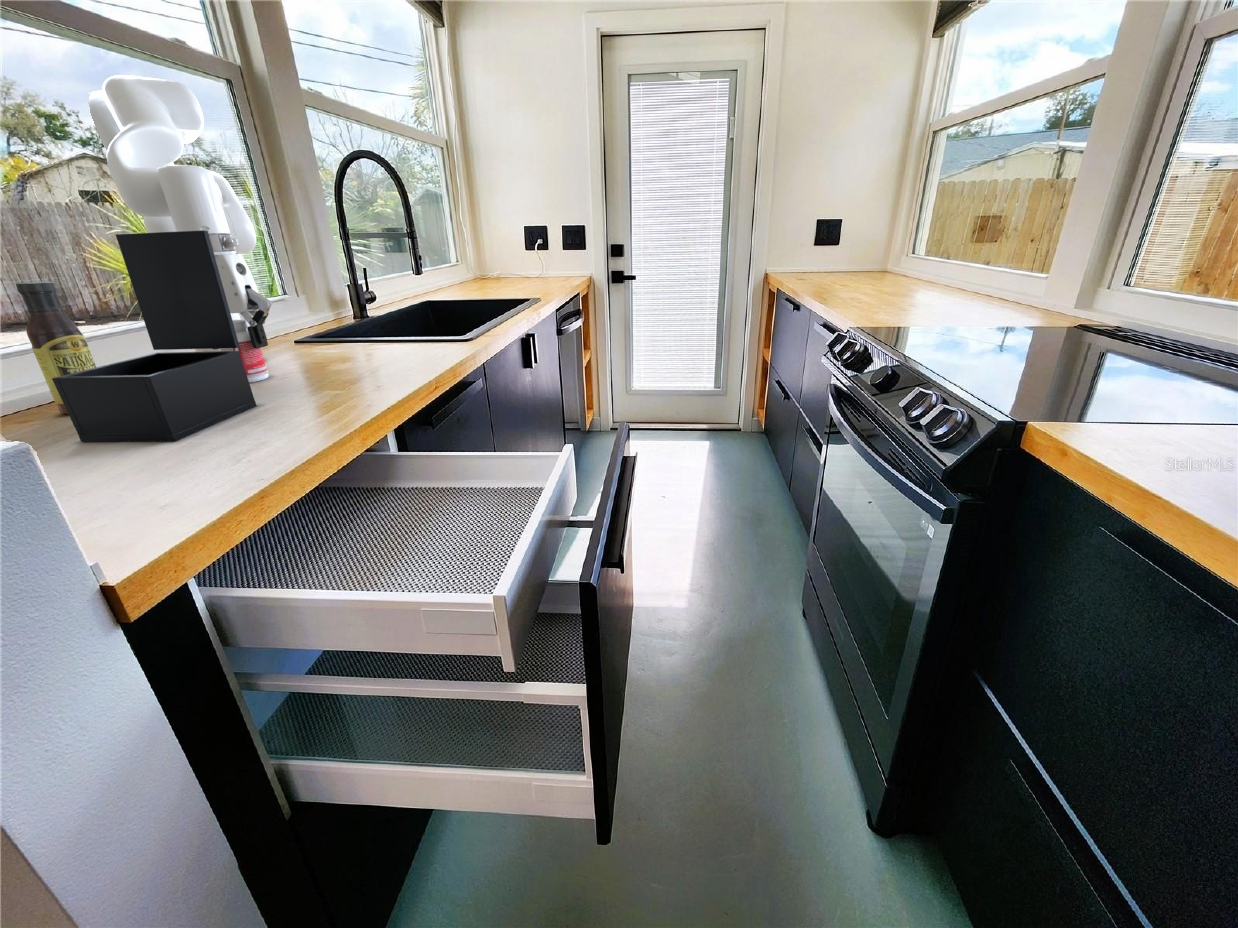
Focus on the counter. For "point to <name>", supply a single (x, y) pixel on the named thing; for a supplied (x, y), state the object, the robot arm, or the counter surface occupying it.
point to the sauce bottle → (53, 336)
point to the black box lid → (179, 289)
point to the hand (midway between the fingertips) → (240, 347)
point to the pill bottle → (249, 353)
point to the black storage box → (156, 396)
